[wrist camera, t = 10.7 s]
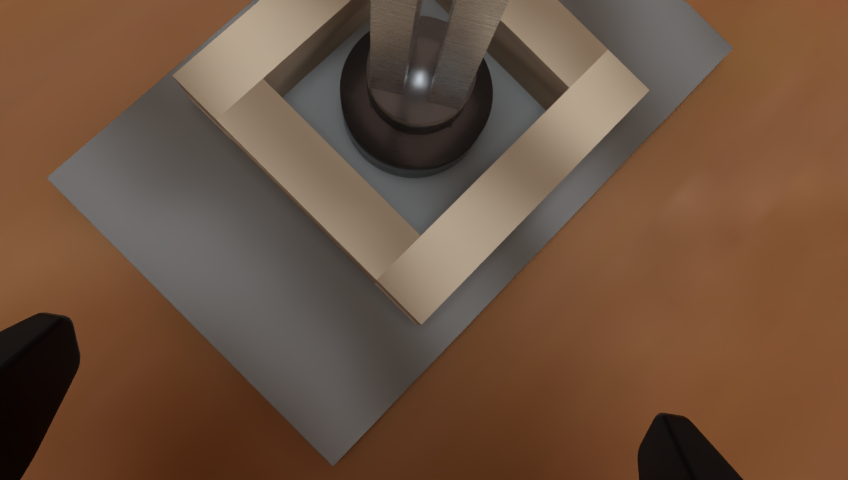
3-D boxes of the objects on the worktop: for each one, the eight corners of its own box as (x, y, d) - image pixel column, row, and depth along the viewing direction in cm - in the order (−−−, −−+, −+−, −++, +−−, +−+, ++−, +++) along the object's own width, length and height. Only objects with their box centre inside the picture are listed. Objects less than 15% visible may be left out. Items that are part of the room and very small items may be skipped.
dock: (334, 459, 22) (328, 486, 18) (60, 183, 22) (4, 159, 19) (718, 58, 25) (774, 17, 22) (478, -177, 26) (496, -255, 22)
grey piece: (495, 61, 23) (652, -246, 10) (465, 192, 23) (594, 39, 10) (361, 26, 23) (351, -335, 10) (327, 159, 22) (270, -47, 9)
